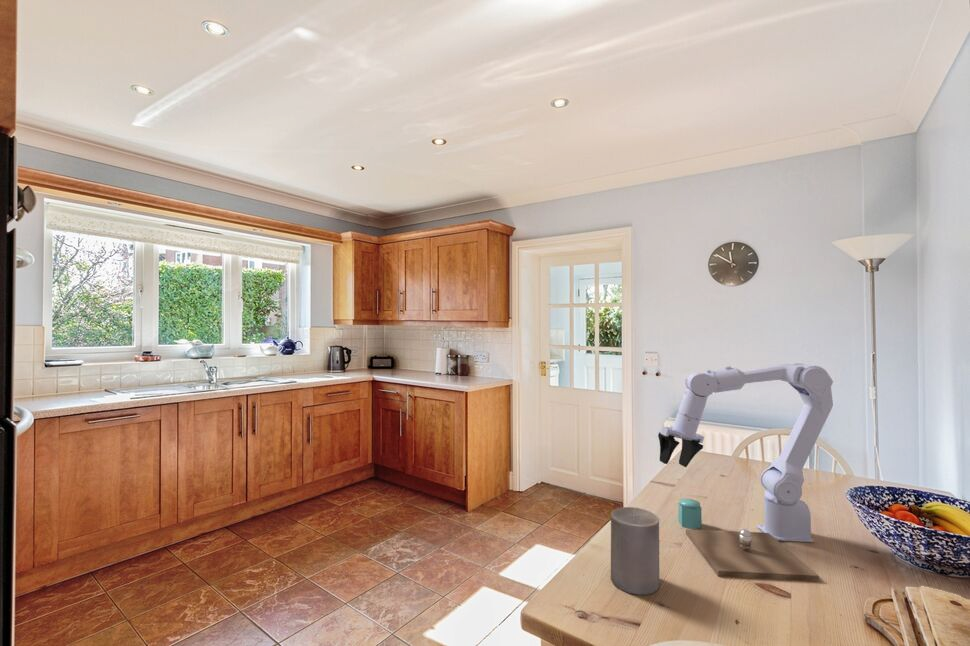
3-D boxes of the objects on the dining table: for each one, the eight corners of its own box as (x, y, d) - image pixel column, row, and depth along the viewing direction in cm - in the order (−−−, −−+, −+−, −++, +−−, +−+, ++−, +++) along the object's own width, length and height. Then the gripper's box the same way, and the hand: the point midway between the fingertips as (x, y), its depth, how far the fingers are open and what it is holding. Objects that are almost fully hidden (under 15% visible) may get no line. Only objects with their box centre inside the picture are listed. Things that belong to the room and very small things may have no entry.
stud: (748, 547, 105) (748, 527, 106) (753, 552, 103) (753, 531, 103) (737, 546, 106) (737, 526, 106) (742, 551, 103) (742, 531, 103)
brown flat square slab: (768, 537, 113) (768, 532, 113) (819, 581, 93) (818, 575, 93) (685, 534, 115) (685, 529, 115) (718, 576, 95) (718, 570, 95)
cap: (695, 520, 124) (695, 498, 124) (703, 529, 118) (703, 506, 118) (676, 519, 124) (676, 497, 124) (683, 528, 118) (683, 505, 118)
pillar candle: (605, 569, 98) (605, 500, 99) (650, 570, 98) (650, 500, 98) (617, 595, 89) (617, 519, 89) (667, 596, 88) (666, 519, 89)
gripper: (694, 415, 127) (679, 460, 128) (658, 406, 121) (643, 454, 121) (716, 424, 121) (700, 471, 121) (679, 416, 114) (663, 466, 115)
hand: (672, 464), depth 121 cm, fingers open, 7 cm apart
